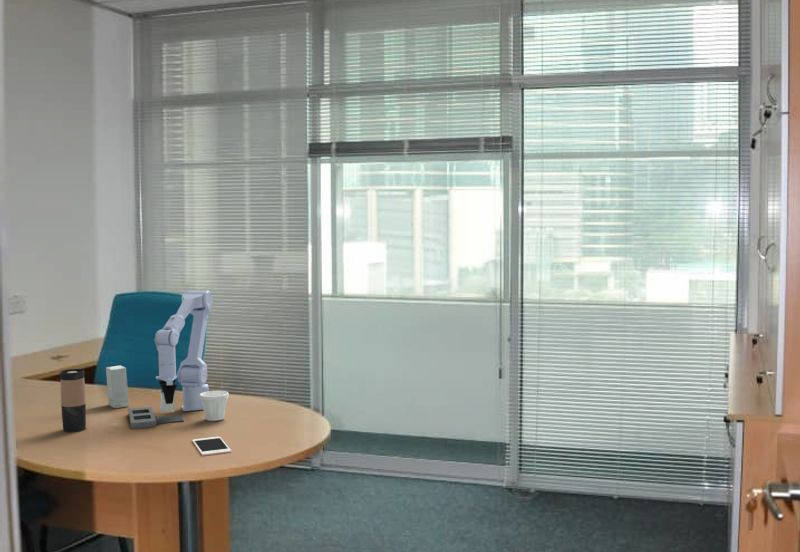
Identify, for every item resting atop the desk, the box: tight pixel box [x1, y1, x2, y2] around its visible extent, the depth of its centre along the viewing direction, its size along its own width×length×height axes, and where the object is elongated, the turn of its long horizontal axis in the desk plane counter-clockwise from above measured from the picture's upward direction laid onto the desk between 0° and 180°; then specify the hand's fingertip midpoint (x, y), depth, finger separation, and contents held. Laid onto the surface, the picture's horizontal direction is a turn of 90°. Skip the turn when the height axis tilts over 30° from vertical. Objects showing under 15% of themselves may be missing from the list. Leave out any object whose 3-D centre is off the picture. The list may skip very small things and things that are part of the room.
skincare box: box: [105, 365, 130, 409], centre depth 313 cm, size 8×6×15 cm
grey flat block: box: [127, 406, 157, 430], centre depth 290 cm, size 8×22×2 cm, turn 21°
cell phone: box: [191, 436, 232, 457], centre depth 257 cm, size 9×18×1 cm, turn 24°
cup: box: [200, 390, 230, 422], centre depth 290 cm, size 10×10×9 cm
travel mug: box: [59, 368, 87, 433], centre depth 278 cm, size 8×8×20 cm
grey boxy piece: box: [158, 389, 177, 413], centre depth 290 cm, size 5×5×7 cm
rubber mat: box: [155, 414, 184, 425], centre depth 291 cm, size 9×9×1 cm
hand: (168, 401), depth 290 cm, fingers closed on grey boxy piece, 5 cm apart
